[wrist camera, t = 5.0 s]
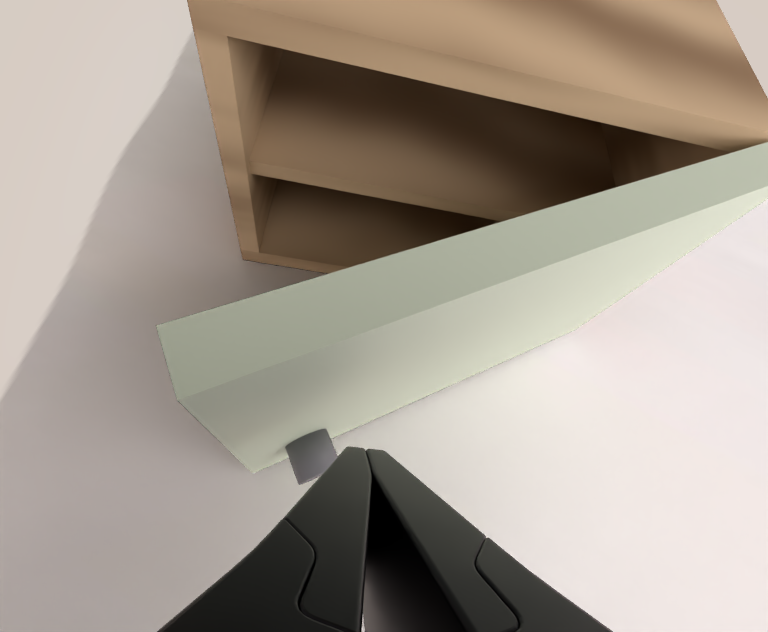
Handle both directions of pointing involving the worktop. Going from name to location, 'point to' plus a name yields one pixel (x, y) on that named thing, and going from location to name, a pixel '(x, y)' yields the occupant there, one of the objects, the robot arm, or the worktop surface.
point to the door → (436, 312)
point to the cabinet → (455, 112)
